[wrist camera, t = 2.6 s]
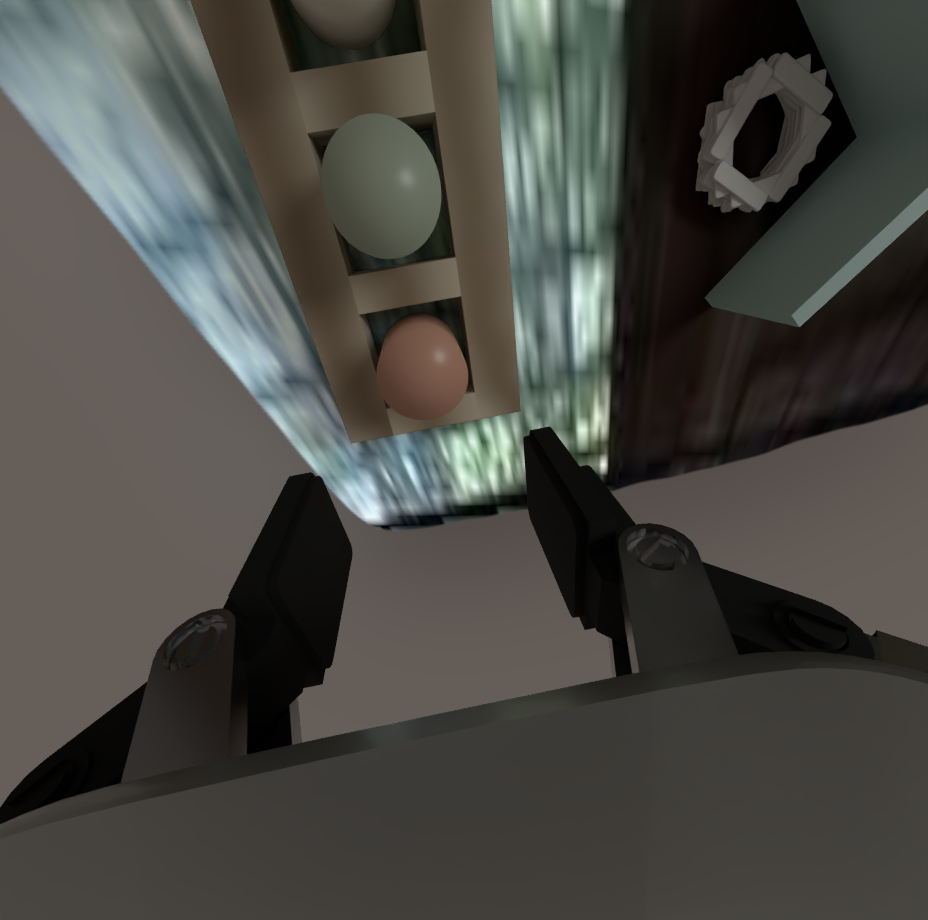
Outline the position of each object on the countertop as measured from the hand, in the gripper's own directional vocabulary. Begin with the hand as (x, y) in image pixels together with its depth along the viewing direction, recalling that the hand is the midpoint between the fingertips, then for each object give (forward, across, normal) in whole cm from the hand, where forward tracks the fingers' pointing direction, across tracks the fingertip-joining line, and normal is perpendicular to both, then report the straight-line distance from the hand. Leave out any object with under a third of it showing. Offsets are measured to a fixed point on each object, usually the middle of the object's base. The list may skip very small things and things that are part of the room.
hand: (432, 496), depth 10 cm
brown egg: (+15, 0, 0) cm, 15 cm away
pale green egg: (+15, 0, -8) cm, 17 cm away
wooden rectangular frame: (+18, 0, -8) cm, 19 cm away
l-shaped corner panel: (+18, -21, -7) cm, 29 cm away
